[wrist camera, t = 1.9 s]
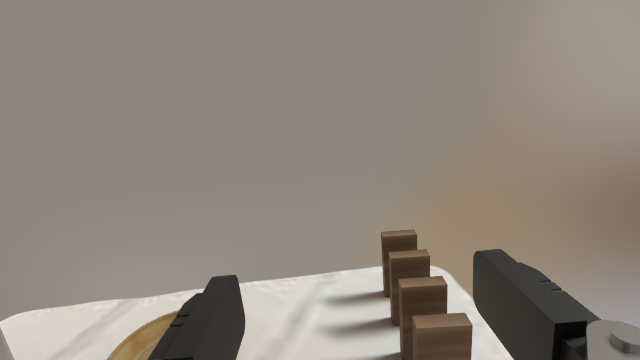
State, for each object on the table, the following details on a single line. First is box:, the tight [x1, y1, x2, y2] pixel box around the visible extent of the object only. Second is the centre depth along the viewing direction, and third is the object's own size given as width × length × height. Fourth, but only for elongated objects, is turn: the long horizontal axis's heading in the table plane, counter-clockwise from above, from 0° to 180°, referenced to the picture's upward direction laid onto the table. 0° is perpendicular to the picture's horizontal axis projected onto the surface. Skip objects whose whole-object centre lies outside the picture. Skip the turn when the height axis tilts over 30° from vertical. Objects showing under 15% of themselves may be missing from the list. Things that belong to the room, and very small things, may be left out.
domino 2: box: [388, 249, 430, 325], centre depth 41 cm, size 2×5×10 cm, turn 88°
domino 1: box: [381, 230, 417, 297], centre depth 47 cm, size 2×5×10 cm, turn 88°
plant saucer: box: [108, 310, 180, 360], centre depth 39 cm, size 15×15×3 cm
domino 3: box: [398, 276, 447, 360], centre depth 36 cm, size 2×5×10 cm, turn 88°
